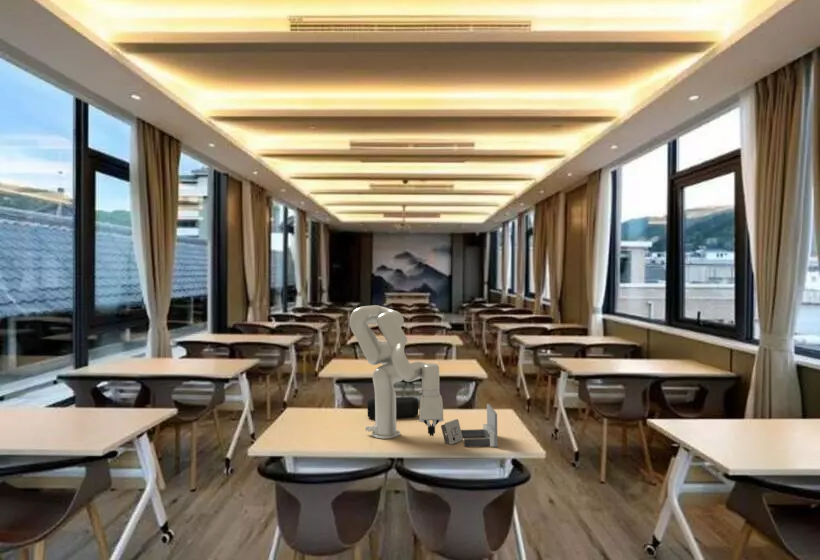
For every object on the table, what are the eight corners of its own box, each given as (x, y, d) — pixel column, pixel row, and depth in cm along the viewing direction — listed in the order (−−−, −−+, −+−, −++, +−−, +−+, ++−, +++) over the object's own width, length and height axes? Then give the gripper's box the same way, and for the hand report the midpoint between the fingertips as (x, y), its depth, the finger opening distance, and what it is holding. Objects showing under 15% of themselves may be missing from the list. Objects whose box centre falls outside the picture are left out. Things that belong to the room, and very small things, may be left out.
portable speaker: (367, 420, 282) (367, 400, 282) (367, 415, 292) (367, 396, 292) (418, 418, 284) (418, 399, 284) (416, 414, 294) (416, 394, 294)
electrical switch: (451, 445, 239) (449, 423, 239) (441, 444, 242) (439, 422, 242) (463, 440, 246) (461, 418, 247) (453, 439, 249) (451, 418, 250)
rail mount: (465, 448, 235) (464, 414, 234) (459, 435, 254) (459, 404, 253) (497, 447, 235) (497, 413, 235) (489, 434, 254) (489, 403, 254)
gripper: (413, 394, 239) (414, 438, 240) (449, 394, 240) (449, 437, 240) (413, 391, 247) (413, 433, 247) (447, 390, 247) (447, 432, 248)
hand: (431, 435), depth 244 cm, fingers closed
